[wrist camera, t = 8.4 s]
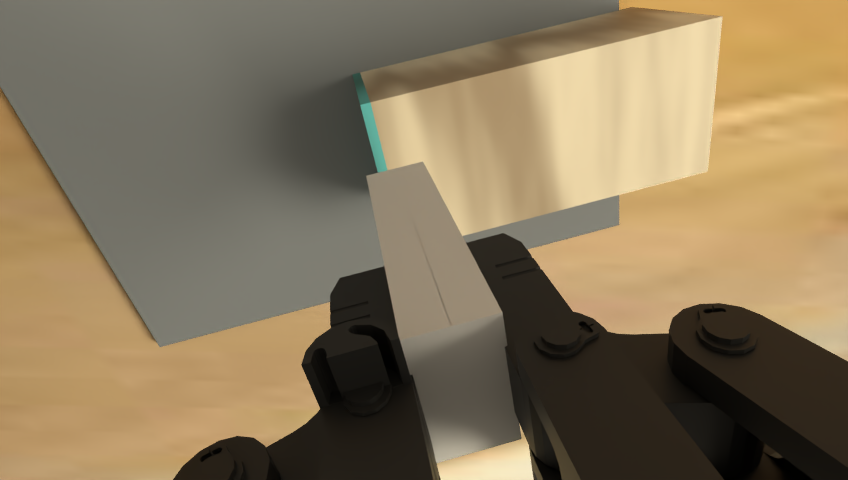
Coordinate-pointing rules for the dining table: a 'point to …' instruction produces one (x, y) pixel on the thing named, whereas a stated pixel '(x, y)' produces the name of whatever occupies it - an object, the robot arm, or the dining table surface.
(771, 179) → the dining table surface
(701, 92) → the birch block
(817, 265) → the dining table surface
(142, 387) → the dining table surface
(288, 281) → the rubber mat
